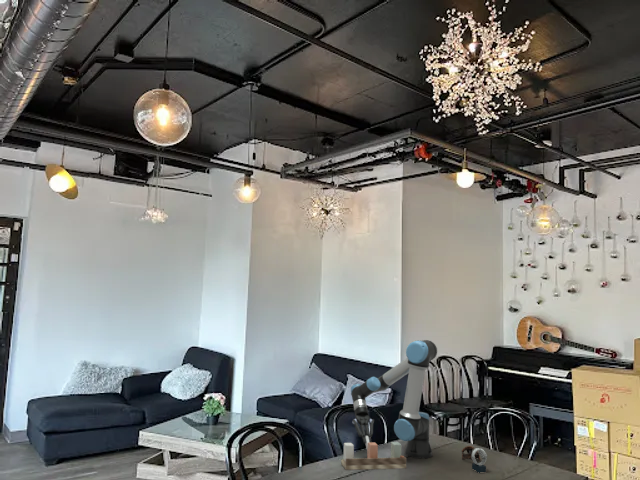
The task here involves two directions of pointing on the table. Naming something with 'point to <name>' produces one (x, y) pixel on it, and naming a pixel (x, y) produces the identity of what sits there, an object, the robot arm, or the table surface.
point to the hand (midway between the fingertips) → (368, 448)
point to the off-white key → (348, 451)
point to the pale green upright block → (395, 450)
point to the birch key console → (374, 463)
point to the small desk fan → (479, 466)
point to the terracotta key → (372, 450)
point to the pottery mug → (469, 453)
